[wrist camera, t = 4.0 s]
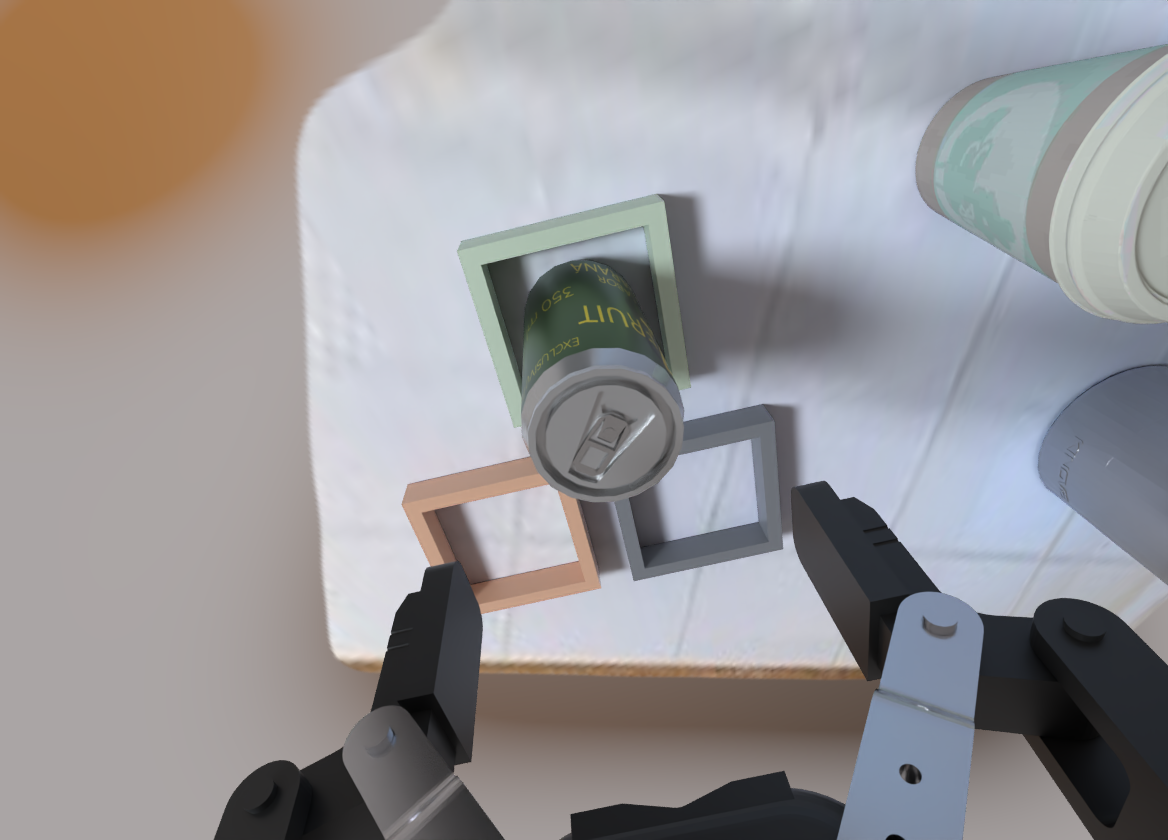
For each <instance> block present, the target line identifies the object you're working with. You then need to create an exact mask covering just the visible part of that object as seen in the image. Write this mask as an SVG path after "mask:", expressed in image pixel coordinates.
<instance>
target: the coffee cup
mask: <svg viewBox="0 0 1168 840" xmlns="http://www.w3.org/2000/svg"><path fill="white" fill-rule="evenodd" d="M915 169H916V182H917V187H918V190H919V192H920V195H921V197H922V198H923V200H924V201H925V203H926V204H927V205H928V206H929V207H930V208H931V209H932V210H934V211H935V212H937V213H938V214H940V215H942V216H943V217H945V218H947V219H948V220H950V221H952V222H953V223H955V224H957V225H958V226H960V227H962V228H963V229H965V230H967V231H969V232H970V233H972V234H974V235H976V236H977V237H979V238H981V239H982V240H984V241H986V242H988V243H989V244H991V245H993V246H994V247H996V248H998V249H1000V250H1001V251H1003V252H1005V253H1007V254H1008V255H1010V256H1012V257H1013V258H1015V259H1017V260H1019V261H1020V262H1022V263H1024V264H1025V265H1027V266H1029V267H1031V268H1032V269H1034V270H1036V271H1038V272H1039V273H1041V274H1043V275H1044V276H1046V277H1048V278H1050V279H1051V280H1053V281H1055V282H1056V283H1058V284H1059V285H1060V287H1061V289H1062V290H1063V292H1064V293H1065V294H1066V295H1067V297H1068V298H1069V299H1070V300H1071V301H1072V302H1073V303H1075V304H1076V305H1077V306H1078V307H1080V308H1081V309H1083V310H1085V311H1087V312H1089V313H1091V314H1093V315H1096V316H1099V317H1102V318H1107V319H1112V320H1119V321H1123V322H1128V323H1135V324H1158V323H1166V322H1167V323H1168V44H1165V45H1160V46H1154V47H1149V48H1144V49H1138V50H1133V51H1128V52H1123V53H1117V54H1112V55H1107V56H1101V57H1096V58H1091V59H1085V60H1080V61H1075V62H1069V63H1064V64H1059V65H1053V66H1048V67H1043V68H1037V69H1032V70H1027V71H1022V72H1017V73H1012V74H1007V75H1002V76H996V77H991V78H987V79H984V80H981V81H978V82H976V83H974V84H971V85H970V86H968V87H966V88H964V89H963V90H961V91H960V92H959V93H957V94H956V95H955V96H953V97H952V98H951V99H950V100H949V101H948V102H947V103H946V104H945V105H944V106H943V107H942V108H941V109H940V110H939V112H938V113H937V114H936V115H935V117H934V118H933V120H932V121H931V123H930V124H929V126H928V128H927V130H926V131H925V134H924V136H923V138H922V141H921V143H920V146H919V150H918V153H917V158H916V168H915Z"/></svg>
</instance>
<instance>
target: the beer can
mask: <svg viewBox="0 0 1168 840" xmlns="http://www.w3.org/2000/svg"><path fill="white" fill-rule="evenodd" d="M683 418H684V407H683V403H682V399H681V396H680V392H679V388H678V386H677V384H676V382H675V380H674V378H673V376H672V373H671V371H670V369H669V367H668V365H667V363H666V361H665V359H664V356H663V354H662V352H661V350H660V348H659V346H658V344H657V342H656V340H655V337H654V335H653V333H652V331H651V329H650V327H649V325H648V323H647V321H646V318H645V316H644V314H643V312H642V310H641V308H640V306H639V304H638V302H637V299H636V297H635V295H634V293H633V291H632V289H631V288H630V287H629V285H628V284H627V282H626V281H625V279H624V278H623V276H621V275H620V274H618V273H617V272H616V271H614V270H613V269H612V268H610V267H609V266H607V265H604V264H601V263H597V262H594V261H591V260H578V261H569V262H566V263H563V264H560V265H557V266H555V267H553V268H552V269H551V270H549V271H548V272H546V273H545V274H544V275H542V276H541V277H540V278H539V279H538V281H537V282H536V284H535V285H534V286H533V288H532V289H531V291H530V292H529V296H528V299H527V302H526V306H525V311H524V340H523V370H522V400H521V425H522V438H523V440H524V443H525V445H526V447H527V450H528V452H529V454H530V456H531V459H532V461H533V463H534V465H535V468H536V470H537V472H538V473H539V474H540V475H541V476H542V477H543V478H544V479H545V480H546V482H547V483H548V484H549V485H550V486H551V487H553V488H554V489H556V490H558V491H560V492H562V493H564V494H565V495H567V496H569V497H571V498H575V499H580V500H584V501H589V502H616V501H619V500H623V499H626V498H630V497H633V496H636V495H639V494H640V493H642V492H644V491H645V490H647V489H649V488H650V487H652V486H654V485H655V484H657V483H658V482H659V481H660V480H661V479H662V478H663V477H664V476H665V475H666V474H667V472H668V471H669V470H670V469H671V468H672V467H673V465H674V463H675V461H676V459H677V457H678V455H679V453H680V450H681V448H682V442H683V432H684V425H683Z"/></svg>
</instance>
